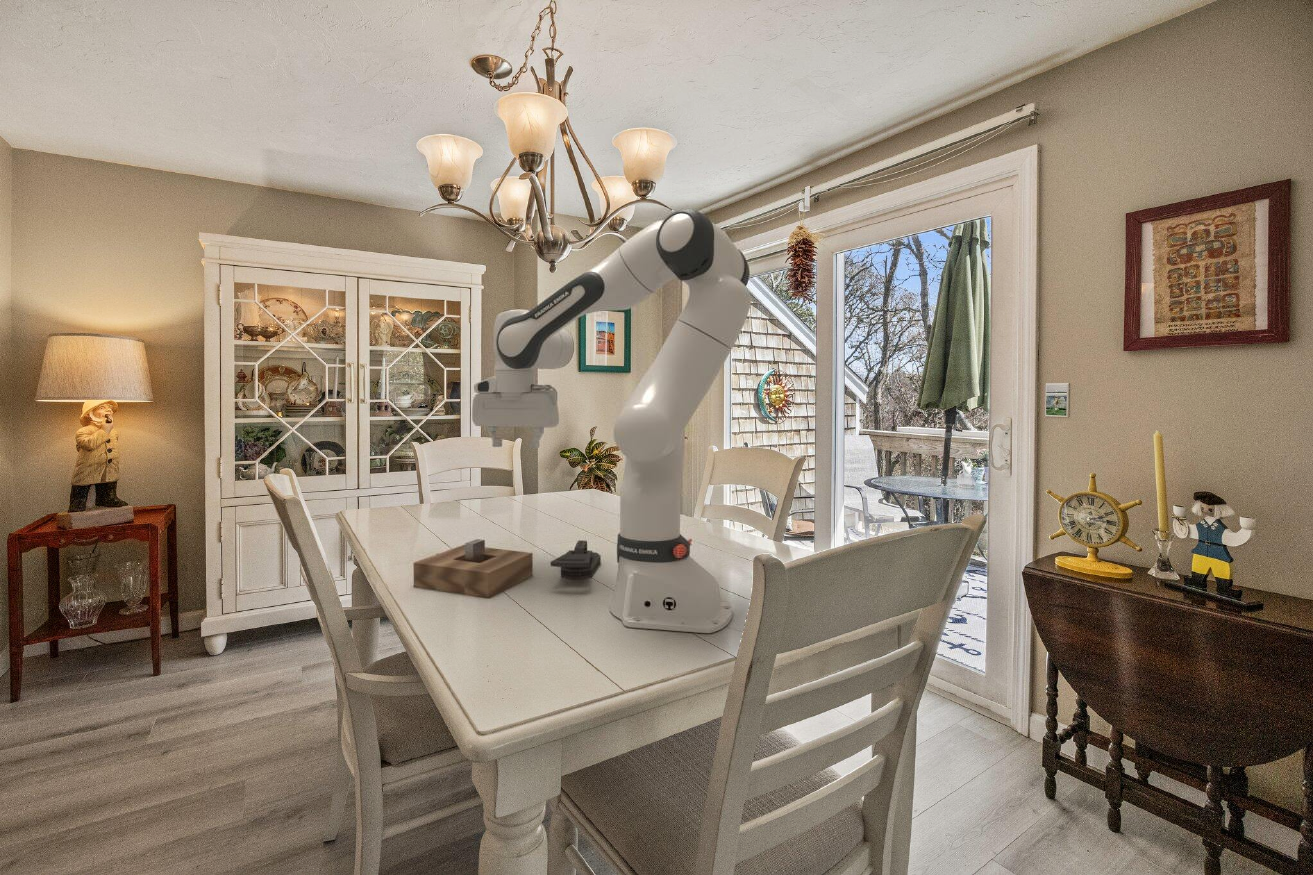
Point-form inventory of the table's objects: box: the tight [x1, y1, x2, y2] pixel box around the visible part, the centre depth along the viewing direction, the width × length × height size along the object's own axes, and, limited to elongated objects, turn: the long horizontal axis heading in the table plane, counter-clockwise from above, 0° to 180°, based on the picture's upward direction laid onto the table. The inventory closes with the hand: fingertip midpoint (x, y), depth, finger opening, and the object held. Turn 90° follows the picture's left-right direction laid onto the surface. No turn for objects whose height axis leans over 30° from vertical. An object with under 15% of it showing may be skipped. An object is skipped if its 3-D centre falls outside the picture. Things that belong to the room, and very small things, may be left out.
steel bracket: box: [464, 538, 486, 563], centre depth 128 cm, size 5×4×8 cm
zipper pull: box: [549, 539, 602, 580], centre depth 133 cm, size 9×7×25 cm
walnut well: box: [413, 544, 534, 599], centre depth 128 cm, size 18×16×5 cm
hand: (515, 447), depth 135 cm, fingers open, 8 cm apart
